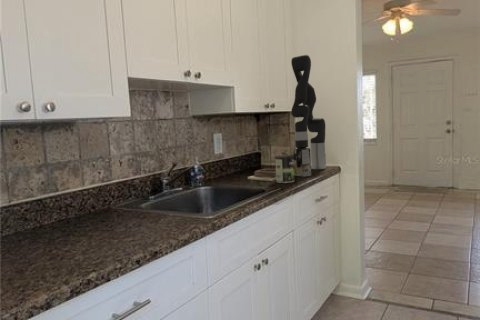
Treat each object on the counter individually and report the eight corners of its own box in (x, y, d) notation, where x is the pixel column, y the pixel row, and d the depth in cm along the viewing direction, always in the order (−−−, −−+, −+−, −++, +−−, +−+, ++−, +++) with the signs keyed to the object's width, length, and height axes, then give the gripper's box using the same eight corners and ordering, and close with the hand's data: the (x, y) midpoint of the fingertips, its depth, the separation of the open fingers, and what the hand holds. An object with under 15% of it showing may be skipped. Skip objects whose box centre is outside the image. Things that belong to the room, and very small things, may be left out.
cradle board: (268, 174, 242) (268, 167, 242) (292, 175, 230) (291, 169, 229) (247, 179, 227) (247, 172, 227) (272, 181, 215) (271, 173, 215)
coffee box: (311, 175, 227) (310, 148, 225) (302, 177, 224) (301, 149, 222) (302, 174, 235) (301, 148, 233) (294, 175, 232) (292, 148, 230)
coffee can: (297, 180, 214) (296, 155, 213) (291, 183, 205) (290, 157, 204) (279, 179, 219) (278, 155, 217) (273, 182, 210) (272, 157, 208)
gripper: (302, 138, 235) (303, 164, 237) (289, 140, 224) (290, 167, 226) (313, 138, 230) (314, 165, 232) (300, 140, 219) (301, 168, 221)
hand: (302, 166), depth 229 cm, fingers closed on coffee box, 8 cm apart
